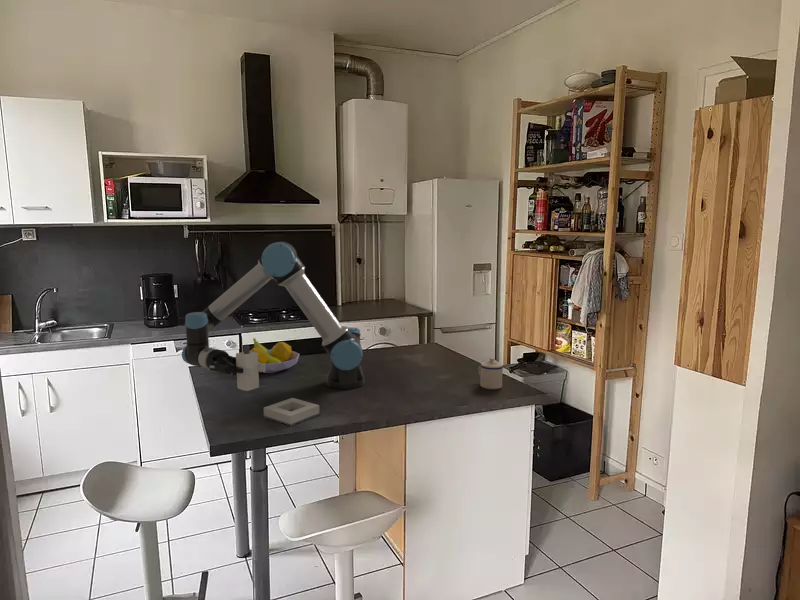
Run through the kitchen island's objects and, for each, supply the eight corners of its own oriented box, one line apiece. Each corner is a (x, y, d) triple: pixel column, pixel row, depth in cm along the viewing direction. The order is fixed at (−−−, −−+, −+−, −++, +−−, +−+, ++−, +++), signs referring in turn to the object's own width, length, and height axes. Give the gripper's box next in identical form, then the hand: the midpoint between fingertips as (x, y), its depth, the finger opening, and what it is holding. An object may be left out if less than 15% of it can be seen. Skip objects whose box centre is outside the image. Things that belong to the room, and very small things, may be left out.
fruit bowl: (305, 374, 235) (305, 348, 233) (239, 380, 225) (238, 353, 224) (294, 358, 261) (293, 335, 259) (234, 363, 251) (234, 339, 250)
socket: (255, 415, 185) (255, 405, 185) (284, 404, 196) (284, 395, 195) (290, 426, 175) (290, 416, 175) (319, 415, 186) (319, 405, 185)
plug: (237, 388, 184) (235, 346, 182) (249, 384, 188) (247, 343, 186) (247, 391, 181) (245, 348, 179) (259, 387, 185) (257, 345, 183)
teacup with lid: (507, 387, 219) (508, 359, 217) (490, 391, 214) (491, 362, 212) (486, 379, 229) (487, 352, 227) (470, 383, 224) (471, 355, 222)
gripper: (236, 364, 202) (279, 374, 188) (192, 375, 187) (235, 387, 174) (235, 344, 201) (278, 353, 187) (191, 354, 186) (234, 364, 173)
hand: (257, 370), depth 180 cm, fingers closed on plug, 5 cm apart
